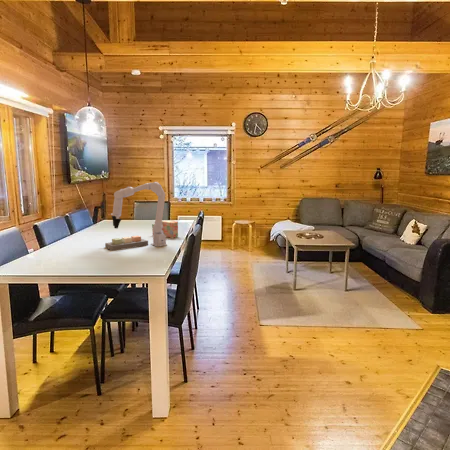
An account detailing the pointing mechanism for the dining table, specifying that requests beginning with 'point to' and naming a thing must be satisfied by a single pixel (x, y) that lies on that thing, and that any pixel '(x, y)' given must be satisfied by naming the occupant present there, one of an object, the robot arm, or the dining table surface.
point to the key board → (126, 245)
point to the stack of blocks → (169, 228)
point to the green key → (117, 241)
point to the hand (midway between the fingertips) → (115, 227)
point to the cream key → (126, 239)
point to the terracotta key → (136, 238)
